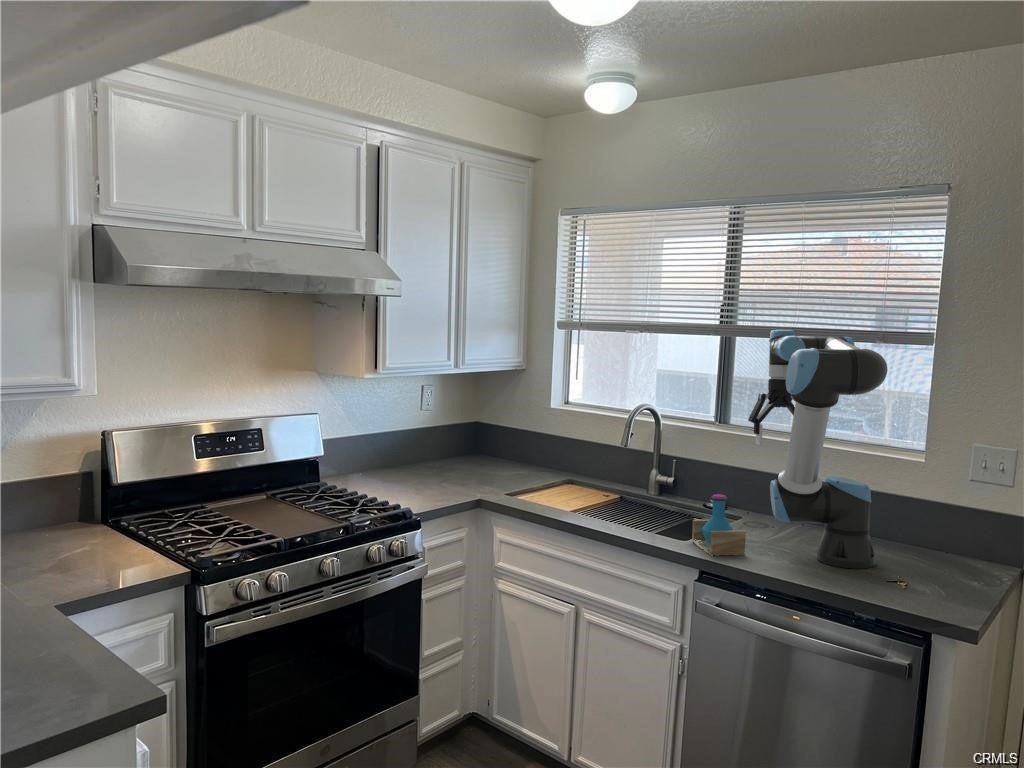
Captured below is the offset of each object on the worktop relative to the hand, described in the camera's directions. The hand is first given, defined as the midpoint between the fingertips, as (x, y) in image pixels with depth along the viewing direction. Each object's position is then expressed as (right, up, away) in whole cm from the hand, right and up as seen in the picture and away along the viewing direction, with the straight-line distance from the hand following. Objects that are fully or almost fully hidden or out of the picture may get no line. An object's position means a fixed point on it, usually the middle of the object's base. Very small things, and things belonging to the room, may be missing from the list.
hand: (778, 444), depth 242 cm
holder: (-25, -30, -18) cm, 42 cm away
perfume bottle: (-25, -29, -18) cm, 42 cm away
